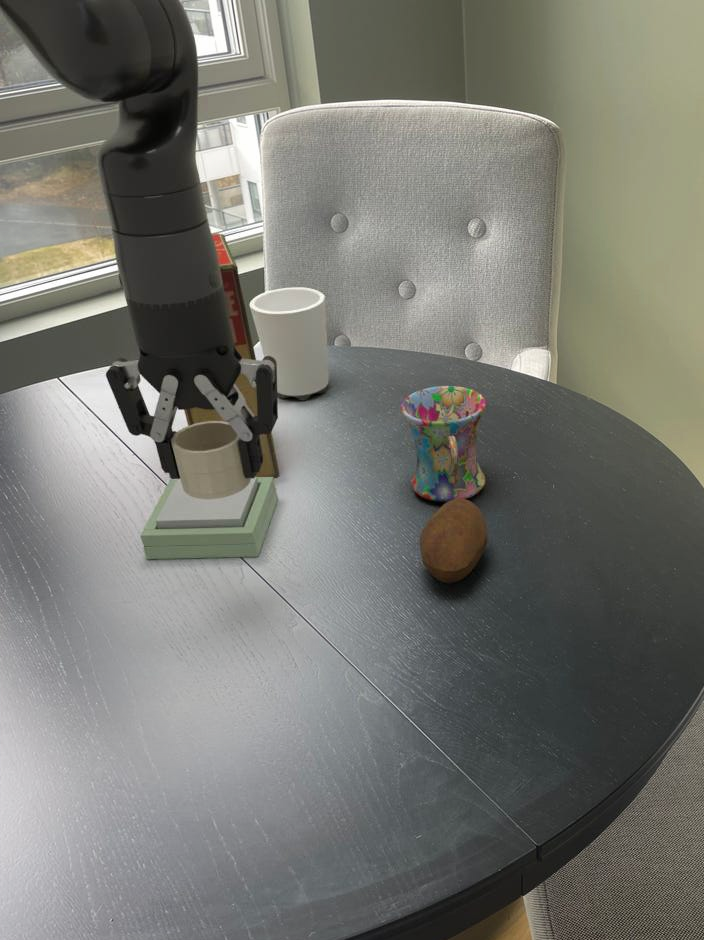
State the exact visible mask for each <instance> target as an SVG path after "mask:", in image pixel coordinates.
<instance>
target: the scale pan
mask: <svg viewBox="0 0 704 940" xmlns="http://www.w3.org/2000/svg"><path fill="white" fill-rule="evenodd" d="M176 480H177V481H176V483H175V485H174V487H173V489H172V491H171V493H170V495H169V497H168V498H167V500H166V502H165V504H164V506H163V508H162V510H161V512H160V514H159V516H158V518H157V519H156V523H157V527H158V529H192V528H231V527H244V524H245V522H246V519H247V516H248V514H249V511H250V509H251V506H252V503H253V501H254V498H255V496H256V493H257V490H258V488H259V485H258V480H257V477H255V478H251V480H250V483H249V485H248V486H247V487H246V488H245V489H243V490H242V491H240V492H238V493H236V494H234V495H231V496H228V497H224V498H218V499H199V498H195V497H192V496H189V495H188V494H186V493H185V492H184V490H183V488H182V483H181V480H180V479H176Z"/></svg>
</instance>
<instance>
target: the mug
mask: <svg viewBox="0 0 704 940" xmlns="http://www.w3.org/2000/svg"><path fill="white" fill-rule="evenodd" d="M486 405H487V401H486V398H485V397H484V396H483V395H482V394H481V393H480V392H478V391H476V390H474V389H471V388H469V387H463V386H458V385H457V386H456V385H441V386H440V385H439V386H432V387H427V388H424V389H420V390H417V391H415V392H413V393H411V394H409V395H408V396H406V397H405V398H404V400H403V401H402V402H401V405H400V410H401V413H402V415H403V417H404V419H405V420H406V422H407V424H408V426H409V428H410V430H411V433H412V436H413V439H414V443H415V448H416V468H415V472H414V475H413V477H412V480H411V487H412V490H413V491H414V492H415V493H416V494H417V495H418V496H420V497H421V498H423V499H425V500H428V501H432V502H438V503H447V502H448V501H451V500H453V499H462V498H463V499H466V500H468V499H470V498H472V497H474V496H475V495H477V494H478V493H479V492H480V491H482V489H483V488H484V486H485V484H486V477H485V474H484V473H483V471H482V469H481V466H480V464H479V461H478V456H477V455H478V454H477V435H478V430H479V426H480V422H481V419H482V417H483V414H484V412H485V409H486Z"/></svg>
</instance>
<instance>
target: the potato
mask: <svg viewBox="0 0 704 940" xmlns="http://www.w3.org/2000/svg"><path fill="white" fill-rule="evenodd" d="M487 543H488V527H487V522H486V520H485V517H484V515H483V513H482V511H481V509H480V508H479V507H478V506H477V505H476V504H475V503H473V502H472V501H471V500H469V499H463V498H462V499H453V500H451V501H448V502H444V504H443V505H441V507H439V508H438V510H436V511H435V512H434V513H433V514H432V515H431V517H430V518H429V520H428V521H427V523H426V524H425V525H424V527H423V528H422V530H421V532H420V536H419V551H420V554H421V559H422V563H423V565H424V567H425V568H426V570H427V571H428V572H429V573H430V575H431V576H433V577H434V578H435V579H437V580H438V581H440V582H441V583H442V582H443V583H446V584H449V583H455V582H459V581H461V580H463V579H464V578H466V577H467V576H468V575H469V574H470V573H471V572H472V570H473V569H474V568H475V566H476V565H477V564H478V563H479V561H480V559H481V558H482V555H483V554H484V551H485V548H486V547H487Z"/></svg>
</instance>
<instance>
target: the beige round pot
mask: <svg viewBox="0 0 704 940" xmlns="http://www.w3.org/2000/svg"><path fill="white" fill-rule="evenodd" d="M239 440H240V438H239V436H238V435H237V434H236V432H235V431H234V429H233V428H232V427H231V425H230V424H229V423H228V422H224V421H207V422H201V423H196V424H193V425H190V426H188V425H187V426H184V427H183V428H181V429H179V430H178V431H176V433H175V434H174V436H173V437H172V439H171V443H172V447H173V451H174V455H175V459H176V463H177V467H178V472H179V476H180V480H181V483H182V488H183V490H184V492H185V493H186V494H188V495H189V496H192V497H195V498H199V499H218V498H224V497H228V496H231V495H234V494H236V493H238V492H240V491H242V490H243V489H245V488H246V487H247V486H248V485H249V483H250V480H251V478H245V474H244V469H243V464H242V459H241V454H240V449H239V444H238V442H239Z"/></svg>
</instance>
